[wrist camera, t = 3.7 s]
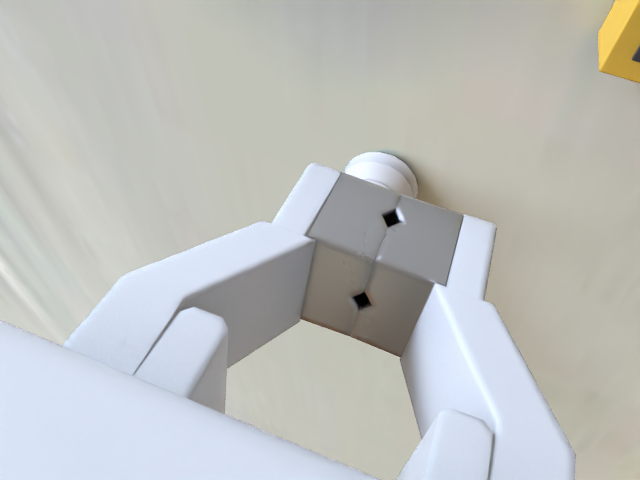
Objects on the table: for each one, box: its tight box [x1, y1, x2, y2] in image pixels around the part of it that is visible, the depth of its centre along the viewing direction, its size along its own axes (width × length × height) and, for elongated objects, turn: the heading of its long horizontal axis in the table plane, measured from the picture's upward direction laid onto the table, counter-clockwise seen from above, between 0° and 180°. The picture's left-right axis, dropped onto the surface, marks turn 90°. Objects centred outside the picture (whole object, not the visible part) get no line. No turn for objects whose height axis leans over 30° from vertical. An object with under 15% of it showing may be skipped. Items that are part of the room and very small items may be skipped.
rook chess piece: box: [344, 152, 418, 199], centre depth 29 cm, size 4×4×8 cm
